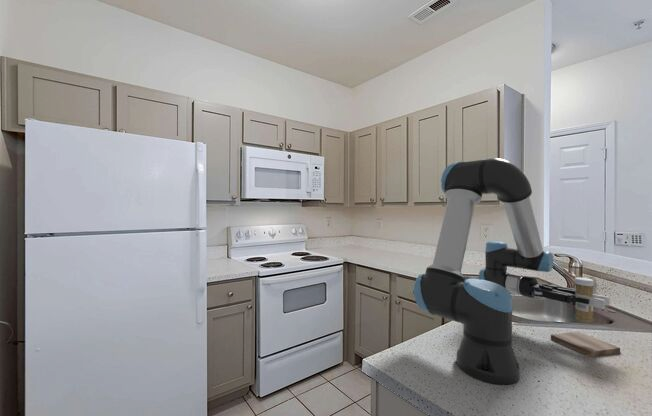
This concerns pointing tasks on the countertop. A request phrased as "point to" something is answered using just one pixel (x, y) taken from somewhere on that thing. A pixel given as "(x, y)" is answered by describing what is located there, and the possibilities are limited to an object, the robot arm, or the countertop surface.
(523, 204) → the robot arm
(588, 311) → the sprinkles bottle
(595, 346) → the walnut board
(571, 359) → the countertop surface
